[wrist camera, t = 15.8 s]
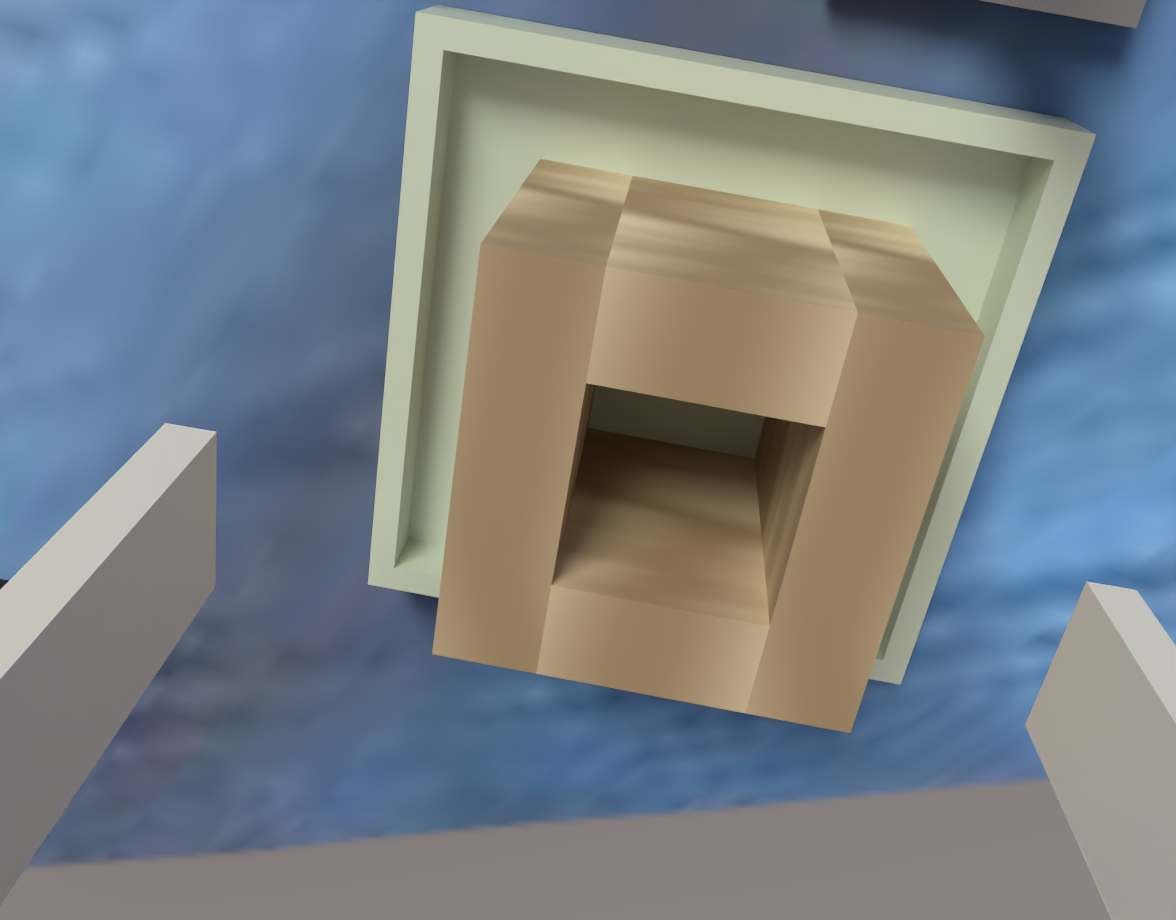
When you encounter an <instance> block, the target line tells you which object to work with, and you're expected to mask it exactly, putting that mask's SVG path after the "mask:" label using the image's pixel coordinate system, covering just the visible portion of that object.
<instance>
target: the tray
mask: <svg viewBox="0 0 1176 920" xmlns="http://www.w3.org/2000/svg"><path fill="white" fill-rule="evenodd" d="M1095 137H1096V134H1094V133H1093V132H1091V131H1089V130H1087V129H1085V128H1083V127H1081V126H1080V125H1078V124H1076V123H1074V122H1072V121H1070V120H1069V119H1067V118H1063V117H1057V116H1052V115H1046V114H1041V113H1035V112H1029V111H1024V110H1018V109H1013V108H1007V107H1002V106H996V105H991V104H985V103H980V102H974V101H968V100H963V99H957V98H952V97H946V96H941V95H935V94H930V93H924V92H919V91H913V90H907V89H902V88H896V87H891V86H885V85H880V84H874V83H869V82H863V81H858V80H852V79H846V78H841V77H835V76H830V75H824V74H819V73H813V72H808V71H802V70H797V69H791V68H785V67H780V66H774V65H769V64H763V63H758V62H752V61H747V60H741V59H736V58H730V57H724V56H719V55H713V54H708V53H702V52H697V51H691V50H686V49H680V48H675V47H669V46H663V45H658V44H652V43H647V42H641V41H636V40H630V39H625V38H619V37H614V36H608V35H602V34H597V33H591V32H586V31H580V30H575V29H569V28H564V27H558V26H553V25H547V24H541V23H536V22H530V21H525V20H519V19H514V18H508V17H503V16H497V15H492V14H486V13H480V12H475V11H469V10H464V9H458V8H453V7H447V6H442V5H436V6H433V7H430V8H427V9H423V10H420V11H417V12H416V16H415V28H414V40H413V52H412V64H411V76H410V88H409V100H408V111H407V123H406V135H405V147H404V159H403V171H402V183H401V195H400V207H399V219H398V231H397V243H396V255H395V267H394V279H393V291H392V303H391V315H390V327H389V339H388V351H387V363H386V375H385V387H384V399H383V410H382V422H381V434H380V446H379V458H378V470H377V482H376V494H375V506H374V518H373V530H372V542H371V554H370V566H369V578H368V584H369V585H375V586H380V587H385V588H390V589H396V590H401V591H406V592H412V593H417V594H422V595H428V596H433V597H438V598H439V592H440V584H441V576H442V567H443V559H444V550H445V542H446V533H447V525H448V516H449V508H450V499H451V491H452V482H453V474H454V465H455V457H456V448H457V440H458V431H459V423H460V414H461V406H462V397H463V389H464V380H465V372H466V363H467V355H468V346H469V338H470V329H471V321H472V312H473V304H474V296H475V287H476V279H477V270H478V262H479V253H480V245H481V242H482V241H483V239H484V238H485V237H486V235H487V234H488V232H489V231H490V229H491V228H492V227H493V225H494V224H495V222H496V221H497V220H498V218H499V217H500V215H501V214H502V212H503V211H504V210H505V208H506V207H507V205H508V204H509V203H510V201H511V200H512V198H513V197H514V195H515V194H516V193H517V191H518V190H519V188H520V187H521V185H522V184H523V183H524V181H525V180H526V178H527V177H528V176H529V174H530V173H531V171H532V170H533V168H534V167H535V166H536V164H537V163H538V161H539V160H540V159H544V160H550V161H555V162H561V163H566V164H572V165H577V166H583V167H588V168H594V169H599V170H605V171H610V172H616V173H621V174H627V175H632V176H638V177H643V178H649V179H654V180H660V181H665V182H671V183H676V184H682V185H687V186H693V187H698V188H704V189H709V190H715V191H720V192H726V193H731V194H737V195H742V196H748V197H753V198H759V199H764V200H770V201H775V202H781V203H786V204H792V205H797V206H803V207H808V208H814V209H819V210H825V211H830V212H836V213H841V214H847V215H852V216H858V217H863V218H869V219H874V220H880V221H885V222H891V223H896V224H902V225H907V226H911V228H912V229H913V231H914V232H915V233H916V235H917V236H918V238H919V239H920V241H921V242H922V244H923V245H924V247H925V248H926V250H927V251H928V253H929V254H930V256H931V257H932V259H933V260H934V262H935V263H936V265H937V266H938V267H939V269H940V270H941V272H942V273H943V275H944V276H945V278H946V279H947V281H948V282H949V284H950V285H951V287H952V288H953V290H954V291H955V293H956V294H957V296H958V297H959V299H960V300H961V301H962V303H963V304H964V306H965V307H966V309H967V310H968V312H969V313H970V315H971V316H972V318H973V319H974V321H975V322H976V324H977V325H978V327H979V328H980V330H981V331H982V333H983V334H984V335H985V337H984V340H983V343H982V346H981V349H980V352H979V354H978V357H977V360H976V363H975V366H974V369H973V372H972V375H971V378H970V381H969V384H968V387H967V390H966V393H965V396H964V399H963V402H962V405H961V408H960V411H959V414H958V417H957V419H956V422H955V425H954V428H953V431H952V434H951V437H950V440H949V443H948V446H947V449H946V452H945V455H944V458H943V461H942V464H941V467H940V470H939V473H938V476H937V479H936V482H935V484H934V487H933V490H932V493H931V496H930V499H929V502H928V505H927V508H926V511H925V514H924V517H923V520H922V523H921V526H920V529H919V532H918V535H917V538H916V541H915V544H914V547H913V549H912V552H911V555H910V558H909V561H908V564H907V567H906V570H905V573H904V576H903V579H902V582H901V585H900V588H899V591H898V594H897V597H896V600H895V603H894V606H893V609H892V612H891V614H890V617H889V620H888V623H887V626H886V629H885V632H884V635H883V638H882V641H881V644H880V647H879V650H878V653H877V656H876V659H875V662H874V665H873V668H872V671H871V674H870V677H869V679H872V680H877V681H883V682H888V683H893V684H899V685H901V682H902V679H903V676H904V674H905V671H906V668H907V665H908V662H909V660H910V657H911V654H912V651H913V648H914V646H915V643H916V640H917V637H918V634H919V632H920V629H921V626H922V623H923V620H924V618H925V615H926V612H927V609H928V606H929V603H930V601H931V598H932V595H933V592H934V589H935V587H936V584H937V581H938V578H939V575H940V573H941V570H942V567H943V564H944V561H945V559H946V556H947V553H948V550H949V547H950V544H951V542H952V539H953V536H954V533H955V530H956V528H957V525H958V522H959V519H960V516H961V514H962V511H963V508H964V505H965V502H966V500H967V497H968V494H969V491H970V488H971V486H972V483H973V480H974V477H975V474H976V471H977V469H978V466H979V463H980V460H981V457H982V455H983V452H984V449H985V446H986V443H987V441H988V438H989V435H990V432H991V429H992V427H993V424H994V421H995V418H996V415H997V412H998V410H999V407H1000V404H1001V401H1002V398H1003V396H1004V393H1005V390H1006V387H1007V384H1008V382H1009V379H1010V376H1011V373H1012V370H1013V368H1014V365H1015V362H1016V359H1017V356H1018V354H1019V351H1020V348H1021V345H1022V342H1023V339H1024V337H1025V334H1026V331H1027V328H1028V325H1029V323H1030V320H1031V317H1032V314H1033V311H1034V309H1035V306H1036V303H1037V300H1038V297H1039V295H1040V292H1041V289H1042V286H1043V283H1044V280H1045V278H1046V275H1047V272H1048V269H1049V266H1050V264H1051V261H1052V258H1053V255H1054V252H1055V250H1056V247H1057V244H1058V241H1059V238H1060V236H1061V233H1062V230H1063V227H1064V224H1065V221H1066V219H1067V216H1068V213H1069V210H1070V207H1071V205H1072V202H1073V199H1074V196H1075V193H1076V191H1077V188H1078V185H1079V182H1080V179H1081V177H1082V174H1083V171H1084V168H1085V165H1086V163H1087V160H1088V157H1089V154H1090V151H1091V148H1092V146H1093V143H1094V140H1095ZM764 419H765V416H761V415H756V414H750V413H745V412H739V411H734V410H729V409H723V408H718V407H712V406H707V405H702V404H696V403H691V402H685V401H680V400H675V399H669V398H664V397H658V396H653V395H648V394H642V393H637V392H631V391H626V390H621V389H615V388H610V387H604V386H599V385H596V386H595V392H594V398H593V403H592V409H591V415H590V420H589V426H588V428H593V429H598V430H604V431H609V432H614V433H620V434H625V435H630V436H636V437H641V438H647V439H652V440H657V441H663V442H668V443H674V444H679V445H684V446H690V447H695V448H700V449H706V450H711V451H717V452H722V453H727V454H733V455H738V456H744V457H749V458H755V455H756V451H757V447H758V443H759V439H760V435H761V431H762V427H763V423H764Z"/></svg>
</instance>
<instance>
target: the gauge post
mask: <svg viewBox="0 0 1176 920" xmlns="http://www.w3.org/2000/svg"><path fill="white" fill-rule="evenodd" d="M980 1H986V2H991V3H997V4H1003V5H1008V6H1014V7H1019V8H1025V9H1031V10H1036V11H1042V12H1047V13H1053V14H1059V15H1064V16H1070V17H1075V18H1081V19H1086V20H1092V21H1098V22H1103V23H1109V24H1114V25H1120V26H1126V27H1131V28H1137V26H1138V23H1139V20H1140V18H1141V15H1142V12H1143V9H1144V6H1145V4H1146V1H1147V0H980Z"/></svg>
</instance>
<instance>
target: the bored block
mask: <svg viewBox="0 0 1176 920" xmlns="http://www.w3.org/2000/svg"><path fill="white" fill-rule="evenodd" d="M984 337H985V335H984V334H983V333H982V331H981V330H980V328H979V327H978V325H977V324H976V322H975V321H974V319H973V318H972V316H971V315H970V313H969V312H968V310H967V309H966V307H965V306H964V304H963V303H962V301H961V300H960V299H959V297H958V296H957V294H956V293H955V291H954V290H953V288H952V287H951V285H950V284H949V282H948V281H947V279H946V278H945V276H944V275H943V273H942V272H941V270H940V269H939V267H938V266H937V265H936V263H935V262H934V260H933V259H932V257H931V256H930V254H929V253H928V251H927V250H926V248H925V247H924V245H923V244H922V242H921V241H920V239H919V238H918V236H917V235H916V233H915V232H914V231H913V229H912V228H911V226H907V225H902V224H896V223H891V222H885V221H880V220H874V219H869V218H863V217H858V216H852V215H847V214H841V213H836V212H830V211H825V210H819V209H814V208H808V207H803V206H797V205H792V204H786V203H781V202H775V201H770V200H764V199H759V198H753V197H748V196H742V195H737V194H731V193H726V192H720V191H715V190H709V189H704V188H698V187H693V186H687V185H682V184H676V183H671V182H665V181H660V180H654V179H649V178H643V177H638V176H632V175H627V174H621V173H616V172H610V171H605V170H599V169H594V168H588V167H583V166H577V165H572V164H566V163H561V162H555V161H550V160H544V159H540V160H539V161H538V163H537V164H536V166H535V167H534V168H533V170H532V171H531V173H530V174H529V176H528V177H527V178H526V180H525V181H524V183H523V184H522V185H521V187H520V188H519V190H518V191H517V193H516V194H515V195H514V197H513V198H512V200H511V201H510V203H509V204H508V205H507V207H506V208H505V210H504V211H503V212H502V214H501V215H500V217H499V218H498V220H497V221H496V222H495V224H494V225H493V227H492V228H491V229H490V231H489V232H488V234H487V235H486V237H485V238H484V239H483V241H482V242H481V245H480V253H479V262H478V270H477V279H476V287H475V296H474V304H473V312H472V321H471V329H470V338H469V346H468V355H467V363H466V372H465V380H464V389H463V397H462V406H461V414H460V423H459V431H458V440H457V448H456V457H455V465H454V474H453V482H452V491H451V499H450V508H449V516H448V525H447V533H446V542H445V550H444V559H443V567H442V576H441V584H440V592H439V601H438V609H437V618H436V626H435V635H434V643H433V652H432V654H435V655H440V656H445V657H450V658H456V659H461V660H466V661H472V662H477V663H482V664H487V665H493V666H498V667H503V668H509V669H514V670H519V671H524V672H530V673H535V674H540V675H546V676H551V677H556V678H561V679H567V680H572V681H577V682H582V683H588V684H593V685H598V686H604V687H609V688H614V689H619V690H625V691H630V692H635V693H641V694H646V695H651V696H656V697H662V698H667V699H672V700H677V701H683V702H688V703H693V704H699V705H704V706H709V707H714V708H720V709H725V710H730V711H736V712H741V713H746V714H751V715H757V716H762V717H767V718H772V719H778V720H783V721H788V722H794V723H799V724H804V725H809V726H815V727H820V728H825V729H831V730H836V731H841V732H846V733H851V730H852V727H853V724H854V721H855V718H856V715H857V712H858V709H859V706H860V703H861V700H862V697H863V694H864V691H865V688H866V685H867V682H868V679H869V677H870V674H871V671H872V668H873V665H874V662H875V659H876V656H877V653H878V650H879V647H880V644H881V641H882V638H883V635H884V632H885V629H886V626H887V623H888V620H889V617H890V614H891V612H892V609H893V606H894V603H895V600H896V597H897V594H898V591H899V588H900V585H901V582H902V579H903V576H904V573H905V570H906V567H907V564H908V561H909V558H910V555H911V552H912V549H913V547H914V544H915V541H916V538H917V535H918V532H919V529H920V526H921V523H922V520H923V517H924V514H925V511H926V508H927V505H928V502H929V499H930V496H931V493H932V490H933V487H934V484H935V482H936V479H937V476H938V473H939V470H940V467H941V464H942V461H943V458H944V455H945V452H946V449H947V446H948V443H949V440H950V437H951V434H952V431H953V428H954V425H955V422H956V419H957V417H958V414H959V411H960V408H961V405H962V402H963V399H964V396H965V393H966V390H967V387H968V384H969V381H970V378H971V375H972V372H973V369H974V366H975V363H976V360H977V357H978V354H979V352H980V349H981V346H982V343H983V340H984ZM596 385H599V386H604V387H610V388H615V389H621V390H626V391H631V392H637V393H642V394H648V395H653V396H658V397H664V398H669V399H675V400H680V401H685V402H691V403H696V404H702V405H707V406H712V407H718V408H723V409H729V410H734V411H739V412H745V413H750V414H756V415H761V416H765V419H764V423H763V427H762V431H761V435H760V439H759V443H758V447H757V451H756V455H755V458H749V457H744V456H738V455H733V454H727V453H722V452H717V451H711V450H706V449H700V448H695V447H690V446H684V445H679V444H674V443H668V442H663V441H657V440H652V439H647V438H641V437H636V436H630V435H625V434H620V433H614V432H609V431H604V430H598V429H593V428H588V426H589V420H590V415H591V409H592V403H593V398H594V392H595V386H596Z"/></svg>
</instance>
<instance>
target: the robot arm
mask: <svg viewBox="0 0 1176 920" xmlns="http://www.w3.org/2000/svg"><path fill="white" fill-rule="evenodd" d="M216 459H217V432H214V431H208V430H203V429H197V428H191V427H185V426H179V425H174V424H168V423H165V424H164V425H163V426H162V427H161V428H160V429H159V430H158V431H157V432H156V433H155V434H154V435H153V436H152V437H151V438H150V439H149V440H148V441H147V442H146V443H145V444H144V445H143V446H142V447H141V448H140V449H139V450H138V451H137V452H136V453H135V454H134V455H133V456H132V457H131V458H130V459H129V460H128V461H127V462H126V463H125V464H124V465H123V466H122V467H121V468H120V469H119V470H118V472H117V473H116V474H115V475H114V476H113V477H112V478H111V479H110V480H109V481H108V482H107V483H106V484H105V485H104V486H103V487H102V488H101V489H100V490H99V491H98V492H97V493H96V494H95V495H94V496H93V497H92V498H91V499H90V500H89V501H88V502H87V503H86V504H85V505H84V506H83V507H82V508H81V509H80V510H79V511H78V512H77V513H76V514H75V515H74V516H73V517H72V518H71V519H70V520H69V521H68V522H67V523H66V524H65V525H64V526H63V527H62V528H61V529H60V530H59V531H58V532H57V533H56V534H55V535H54V536H53V537H52V538H51V539H50V540H49V541H48V542H47V543H46V544H45V545H44V546H43V547H42V548H41V549H40V550H39V551H38V552H37V553H36V554H35V555H34V556H33V557H32V558H31V559H30V560H29V561H28V562H27V563H26V564H25V565H24V566H23V567H22V568H21V569H20V570H19V571H18V572H17V573H16V574H15V575H14V576H13V577H12V578H11V579H10V580H9V581H8V580H2V579H0V905H1V903H2V902H3V900H4V899H5V897H6V896H7V894H8V893H9V891H10V890H11V888H12V887H13V885H14V884H15V883H16V881H17V879H18V878H19V876H20V875H21V874H22V872H23V871H24V869H25V868H26V866H27V865H28V863H29V862H30V860H31V859H32V857H33V856H34V854H35V853H36V851H37V850H38V848H39V847H40V846H41V844H42V843H43V841H44V840H45V838H46V837H47V835H48V834H49V832H50V831H51V829H52V828H53V826H54V825H55V823H56V822H57V820H58V819H59V817H60V816H61V814H62V813H63V811H64V810H65V809H66V807H67V806H68V804H69V803H70V801H71V800H72V798H73V797H74V795H75V794H76V792H77V791H78V789H79V788H80V786H81V785H82V783H83V782H84V780H85V779H86V777H87V776H88V774H89V773H90V772H91V770H92V769H93V767H94V766H95V764H96V763H97V761H98V760H99V758H100V757H101V755H102V754H103V752H104V751H105V749H106V748H107V746H108V745H109V743H110V742H111V740H112V739H113V737H114V736H115V735H116V733H117V732H118V730H119V729H120V727H121V726H122V724H123V723H124V721H125V720H126V718H127V717H128V715H129V714H130V712H131V711H132V709H133V708H134V706H135V705H136V703H137V702H138V700H139V699H140V697H141V696H142V695H143V693H144V692H145V690H146V689H147V687H148V686H149V684H150V683H151V681H152V680H153V678H154V677H155V675H156V674H157V672H158V671H159V669H160V668H161V666H162V665H163V663H164V662H165V660H166V659H167V658H168V656H169V655H170V653H171V652H172V650H173V649H174V647H175V646H176V644H177V643H178V641H179V640H180V638H181V637H182V635H183V634H184V632H185V631H186V629H187V628H188V626H189V625H190V623H191V622H192V621H193V619H194V618H195V616H196V615H197V613H198V612H199V610H200V609H201V607H202V606H203V604H204V603H205V601H206V600H207V598H208V597H209V595H210V594H211V592H212V591H213V589H214V588H215V557H216ZM1025 726H1026V728H1027V730H1028V733H1029V735H1030V737H1031V739H1032V742H1033V744H1034V746H1035V748H1036V751H1037V753H1038V755H1039V757H1040V760H1041V762H1042V764H1043V767H1044V769H1045V771H1046V773H1047V776H1048V778H1049V780H1050V782H1051V785H1052V787H1053V789H1054V791H1055V794H1056V796H1057V798H1058V800H1059V803H1060V805H1061V807H1062V810H1063V812H1064V814H1065V816H1066V818H1067V821H1068V823H1069V826H1070V828H1071V830H1072V832H1073V834H1074V837H1075V839H1076V841H1077V843H1078V846H1079V848H1080V850H1081V853H1082V855H1083V857H1084V859H1085V862H1086V864H1087V866H1088V868H1089V871H1090V873H1091V875H1092V878H1093V880H1094V882H1095V884H1096V886H1097V889H1098V891H1099V893H1100V896H1101V898H1102V900H1103V903H1104V905H1105V907H1106V909H1107V911H1108V914H1109V916H1110V918H1111V920H1176V646H1175V645H1174V643H1173V642H1172V640H1171V639H1170V637H1169V636H1168V634H1167V633H1166V632H1165V630H1164V629H1163V627H1162V626H1161V624H1160V623H1159V622H1158V620H1157V619H1156V617H1155V616H1154V614H1153V613H1152V611H1151V610H1150V609H1149V607H1148V606H1147V604H1146V603H1145V601H1144V600H1143V599H1142V597H1141V596H1140V594H1139V593H1138V591H1137V590H1133V589H1127V588H1121V587H1115V586H1109V585H1104V584H1098V583H1092V582H1086V584H1085V586H1084V589H1083V591H1082V593H1081V596H1080V598H1079V600H1078V603H1077V605H1076V607H1075V610H1074V612H1073V614H1072V617H1071V619H1070V621H1069V624H1068V626H1067V628H1066V631H1065V633H1064V635H1063V638H1062V640H1061V642H1060V645H1059V647H1058V649H1057V652H1056V654H1055V656H1054V659H1053V661H1052V663H1051V666H1050V668H1049V670H1048V673H1047V675H1046V677H1045V680H1044V682H1043V684H1042V687H1041V689H1040V691H1039V694H1038V696H1037V698H1036V701H1035V703H1034V705H1033V708H1032V710H1031V712H1030V715H1029V717H1028V719H1027V722H1026V724H1025Z"/></svg>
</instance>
